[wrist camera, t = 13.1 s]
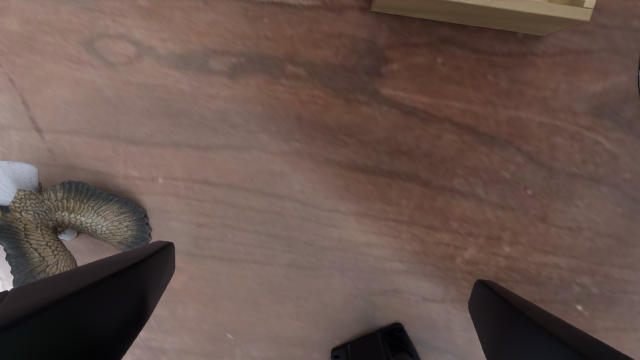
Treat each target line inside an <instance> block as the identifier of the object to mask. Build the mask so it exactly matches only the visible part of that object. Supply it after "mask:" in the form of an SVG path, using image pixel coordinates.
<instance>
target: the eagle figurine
mask: <svg viewBox="0 0 640 360" xmlns="http://www.w3.org/2000/svg"><path fill="white" fill-rule="evenodd" d="M40 185H41V183H40V182H39V172H38V169H37V167H35V166H34V165H31V164H28V163H22V162H15V161H10V160H2V161H0V245H2V246H3V247H4V251H5V252H6V258H5V259H6V261H8V263H9V265H10V266H11V271H10V273H11V274H12V275H13V276H14V279H13V287H14V288H15V287H18V286H21V285H24V284H27V283H30V282H33V281H36V280H39V279H42V278H45V277H48V276H52V275H55V274H58V273H61V272H64V271H67V270H70V269H73V268H76V267H78V266H77V262H76V260H75V258H74V257H73V256H72V254H71V252H70V251H69V250H68V249H67V248H66V247H65V245H64V244H63V243H62V241H61V240H60V239H64V240H68V241H69V240H72V239H74V238H76V237H77V233H78V232H82V233H85V234H87V235H90V236H92V237H94V238H97V239H99V240H102V241H105V242H107V243H109V244H111V245H113V246H115V247H117V248H118V249H120V250H122V251H124V252H125V251H128V250H131V249H134V248H137V247H140V246H143V245H146V244H148V243H147V242H148V241H150V240H151V237H150V235H149V233H150V232H151V230H150V228H149V226H147V225H146V224H145V223H147V222H148V219H147V218H145V217H144V215H145V213H144V211H142V210H141V209H140V208H139V207H137V206H136V204H135V203H133V202H129V200H128V199H126V198H124V199H121V198H119V197H118V196H115V195H114V194H107V193H106V192H103V191H101V190H100V189H94V188H93V186H92V185H89V184H88V183H83V182H74V181H68V182H62V183H61V184H60V185H57V186H53V187H52V188H51V189H44V190H43V191H40V190H41V189H42V187H41V186H40ZM77 231H78V232H77Z"/></svg>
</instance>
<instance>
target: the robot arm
mask: <svg viewBox="0 0 640 360" xmlns="http://www.w3.org/2000/svg"><path fill="white" fill-rule="evenodd" d="M174 271H175V246H174V244H173V243H172V242H169V241H156V242H152V243H149V244H146V245H143V246H140V247H137V248H134V249H131V250H128V251H125V252H122V253H119V254H116V255H113V256H110V257H107V258H104V259H100V260H97V261H94V262H91V263H88V264H85V265H82V266H79V267H76V268H73V269H70V270H67V271H64V272H61V273H58V274H55V275H52V276H48V277H45V278H42V279H39V280H36V281H33V282H30V283H27V284H24V285H21V286H18V287H15V288H12V289H11V290H10V291H8V290H5V291H2V292H0V360H121V359H122V358H123V356H124V355H125V353H126V352H127V351H128V349H129V348H130V346H131V345H132V343H133V342H134V340H135V339H136V338H137V336H138V335H139V333H140V332H141V330H142V329H143V327H144V326H145V324H146V323H147V321H148V319H149V318H150V316H151V314H152V313H153V311H154V309H155V307H156V305H157V303H158V302H159V300H160V298H161V296H162V294H163V293H164V291H165V289H166V287H167V285H168V283H169V282H170V280H171V278H172V276H173V274H174ZM468 309H469V313H470V315H471V318H472V321H473V324H474V327H475V329H476V332H477V335H478V338H479V340H480V343H481V346H482V349H483V351H484V354H485V357H486V359H487V360H634V359H632V358H630V357H629V356H627V355H625V354H623V353H621V352H620V351H618V350H616V349H614V348H612V347H611V346H609V345H607V344H605V343H603V342H602V341H600V340H598V339H596V338H594V337H593V336H591V335H589V334H587V333H585V332H584V331H582V330H580V329H578V328H576V327H574V326H573V325H571V324H569V323H567V322H565V321H564V320H562V319H560V318H558V317H556V316H555V315H553V314H551V313H549V312H547V311H546V310H544V309H542V308H540V307H538V306H537V305H535V304H533V303H531V302H529V301H528V300H526V299H524V298H522V297H520V296H519V295H517V294H515V293H513V292H511V291H510V290H508V289H506V288H504V287H502V286H501V285H499V284H497V283H495V282H493V281H490V280H482V279H478V280H476V281H475V283H474V286H473V289H472V292H471V295H470V298H469V302H468ZM397 329H400V330H398V331H397ZM335 354H338V355H335ZM331 359H332V360H421V358H420V357H419V355H418V353H417V351H416V349H415V347H414V345H413V343H412V341H411V339H410V337H409V336H408V334H407V332H406V330H405V328H404V326H403V325H402V324H401V323H394V324H392V325H389V326H387V327H384V328H382V329H380V330H377V331H375V332H372V333H370V334H368V335H365V336H363V337H360V338H358V339H355V340H353V341H351V342H348V343H346V344H343V345H341V346H339V347H336V348H334V349H332V350H331Z"/></svg>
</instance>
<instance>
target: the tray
mask: <svg viewBox="0 0 640 360" xmlns="http://www.w3.org/2000/svg"><path fill="white" fill-rule="evenodd" d="M595 3H596V0H372V4H371V11H375V12H382V13H389V14H395V15H402V16H409V17H416V18H423V19H430V20H437V21H444V22H451V23H458V24H465V25H472V26H478V27H485V28H492V29H499V30H506V31H513V32H520V33H527V34H534V35H541V36H546V35H548V34H551V33H554V32H558V31H561V30H564V29H567V28H570V27H573V26H576V25H579V24H582V23H585V22H588V21H589V20H590V18H591V15H592V12H593V8H594V6H595Z"/></svg>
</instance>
